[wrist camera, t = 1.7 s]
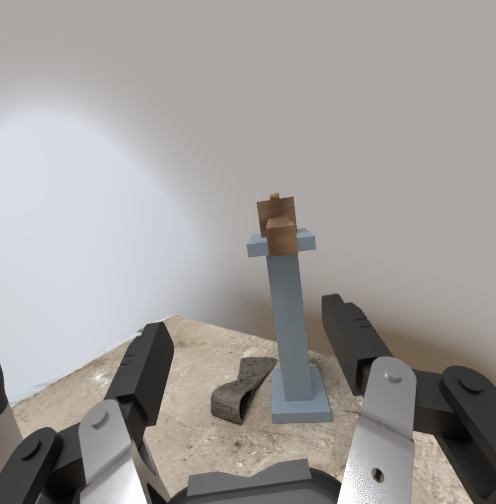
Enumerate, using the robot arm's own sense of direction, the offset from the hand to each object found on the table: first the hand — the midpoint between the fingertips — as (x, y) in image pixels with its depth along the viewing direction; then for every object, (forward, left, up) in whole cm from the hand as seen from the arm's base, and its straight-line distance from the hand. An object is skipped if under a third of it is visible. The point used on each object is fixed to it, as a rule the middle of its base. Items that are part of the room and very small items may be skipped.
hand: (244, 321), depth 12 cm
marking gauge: (+3, +24, 0) cm, 24 cm away
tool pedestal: (+3, +29, -32) cm, 43 cm away
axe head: (-8, +34, -32) cm, 48 cm away
